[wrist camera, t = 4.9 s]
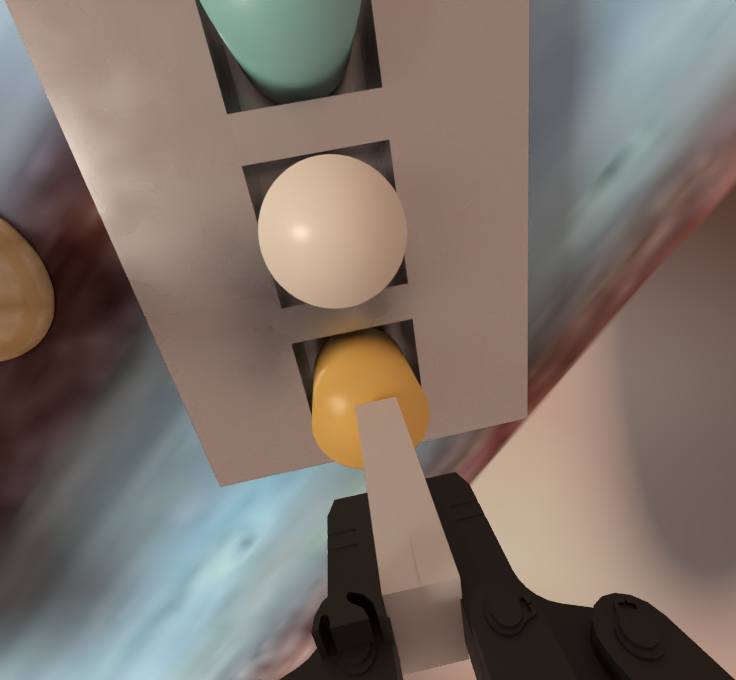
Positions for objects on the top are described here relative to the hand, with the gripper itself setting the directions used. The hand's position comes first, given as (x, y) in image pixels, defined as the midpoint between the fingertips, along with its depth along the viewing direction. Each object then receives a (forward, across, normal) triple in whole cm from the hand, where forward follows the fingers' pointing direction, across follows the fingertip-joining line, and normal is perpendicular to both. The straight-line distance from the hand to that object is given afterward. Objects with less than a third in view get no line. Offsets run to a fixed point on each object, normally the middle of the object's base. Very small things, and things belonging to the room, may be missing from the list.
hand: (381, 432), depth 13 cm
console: (+8, 0, +7) cm, 11 cm away
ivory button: (+5, 0, +7) cm, 9 cm away
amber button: (+5, 0, 0) cm, 5 cm away
